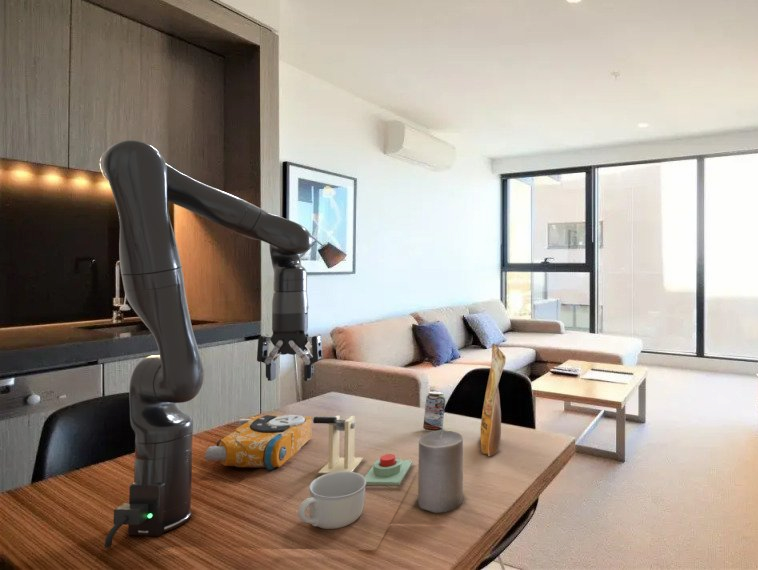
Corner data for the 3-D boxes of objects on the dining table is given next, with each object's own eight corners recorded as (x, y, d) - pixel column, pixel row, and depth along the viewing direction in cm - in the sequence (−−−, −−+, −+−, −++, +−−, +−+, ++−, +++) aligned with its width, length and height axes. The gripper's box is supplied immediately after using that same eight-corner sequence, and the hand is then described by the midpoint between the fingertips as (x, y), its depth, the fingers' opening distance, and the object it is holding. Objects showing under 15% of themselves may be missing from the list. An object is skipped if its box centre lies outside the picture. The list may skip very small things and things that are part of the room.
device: (184, 442, 111) (252, 405, 141) (183, 477, 111) (252, 432, 141) (277, 442, 111) (326, 405, 141) (277, 476, 111) (325, 432, 141)
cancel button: (392, 467, 109) (392, 460, 109) (378, 467, 109) (378, 460, 109) (397, 461, 112) (397, 454, 112) (382, 461, 113) (382, 453, 113)
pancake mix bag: (502, 432, 141) (502, 342, 142) (505, 458, 122) (506, 353, 123) (480, 433, 140) (480, 342, 141) (480, 459, 121) (481, 353, 122)
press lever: (333, 425, 104) (335, 414, 105) (312, 425, 104) (314, 414, 105) (352, 431, 116) (354, 421, 117) (333, 431, 116) (335, 421, 117)
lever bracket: (350, 477, 110) (351, 424, 111) (317, 477, 111) (318, 424, 111) (363, 462, 119) (364, 412, 120) (333, 461, 120) (334, 412, 120)
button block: (399, 489, 104) (399, 474, 105) (360, 489, 105) (360, 473, 105) (412, 466, 116) (412, 453, 117) (377, 466, 117) (377, 452, 117)
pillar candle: (457, 488, 105) (458, 422, 106) (466, 509, 96) (467, 437, 96) (415, 494, 102) (416, 427, 103) (420, 517, 93) (421, 442, 94)
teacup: (347, 502, 99) (348, 465, 99) (376, 520, 92) (377, 480, 92) (281, 531, 88) (282, 489, 88) (309, 554, 81) (309, 508, 81)
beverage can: (419, 433, 140) (419, 394, 140) (430, 425, 147) (430, 388, 147) (438, 435, 138) (438, 396, 138) (448, 427, 145) (448, 389, 145)
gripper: (250, 312, 102) (250, 384, 102) (313, 312, 102) (312, 384, 102) (269, 308, 110) (268, 376, 110) (327, 308, 110) (327, 376, 109)
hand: (289, 380), depth 106 cm, fingers open, 8 cm apart
